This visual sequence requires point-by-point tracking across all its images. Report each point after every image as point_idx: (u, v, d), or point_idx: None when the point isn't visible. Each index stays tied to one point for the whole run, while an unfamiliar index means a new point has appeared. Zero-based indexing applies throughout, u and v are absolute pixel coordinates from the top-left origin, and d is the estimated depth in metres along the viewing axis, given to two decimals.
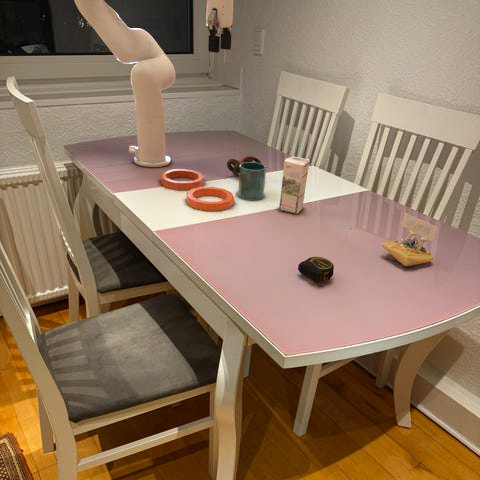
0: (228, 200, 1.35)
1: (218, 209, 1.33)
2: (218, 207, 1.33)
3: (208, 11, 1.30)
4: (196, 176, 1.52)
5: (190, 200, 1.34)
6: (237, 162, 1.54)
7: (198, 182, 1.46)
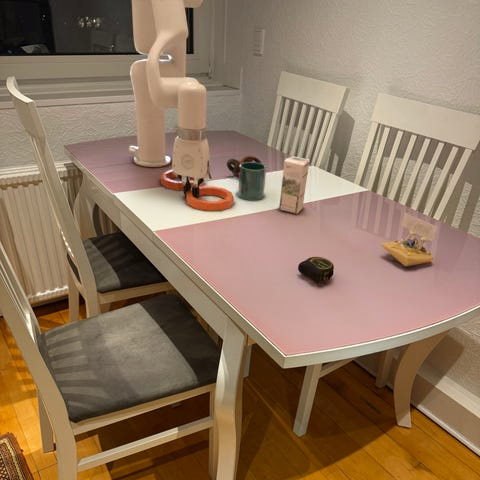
0: (227, 200, 1.35)
1: (218, 209, 1.34)
2: (217, 207, 1.33)
3: (205, 165, 1.31)
4: None
5: (190, 200, 1.34)
6: (237, 162, 1.54)
7: None
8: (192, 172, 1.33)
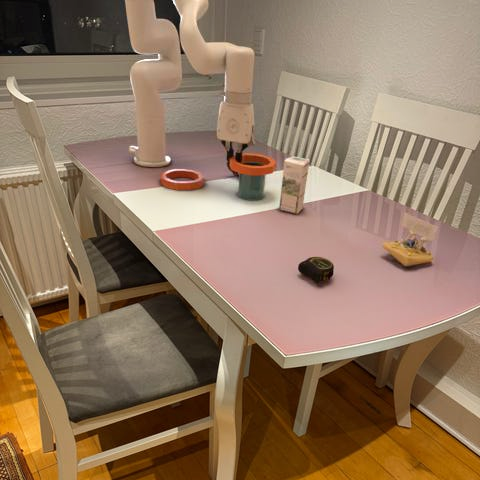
0: (271, 165, 1.36)
1: (262, 173, 1.35)
2: (262, 171, 1.35)
3: (250, 130, 1.33)
4: (196, 176, 1.52)
5: (234, 165, 1.36)
6: None
7: (198, 182, 1.46)
8: (237, 137, 1.34)
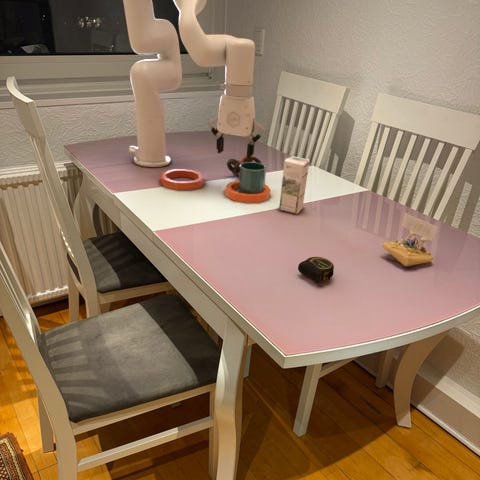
0: (265, 193, 1.42)
1: (257, 201, 1.40)
2: (256, 199, 1.40)
3: (251, 123, 1.32)
4: (196, 176, 1.52)
5: (230, 193, 1.41)
6: (237, 162, 1.54)
7: (198, 182, 1.46)
8: (237, 130, 1.33)
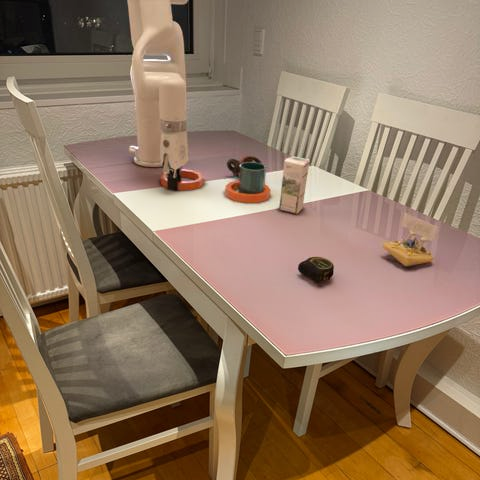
0: (265, 193, 1.42)
1: (257, 201, 1.40)
2: (256, 199, 1.40)
3: None
4: (196, 176, 1.52)
5: (230, 193, 1.41)
6: (237, 162, 1.54)
7: (198, 182, 1.46)
8: (184, 160, 1.41)
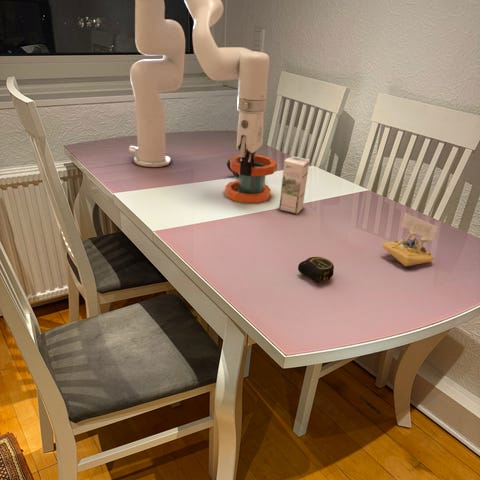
0: (265, 193, 1.42)
1: (257, 201, 1.40)
2: (256, 199, 1.40)
3: None
4: (267, 162, 1.42)
5: (230, 193, 1.41)
6: None
7: (272, 167, 1.36)
8: (260, 143, 1.31)
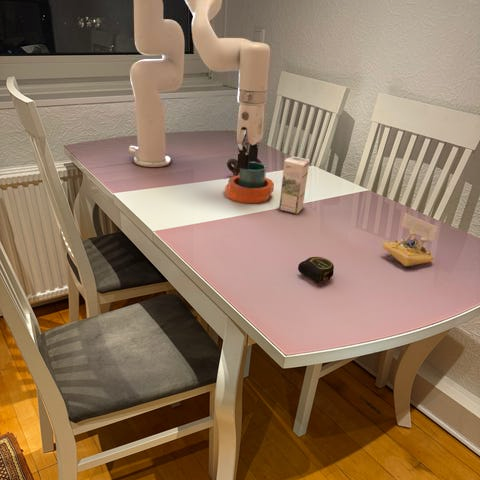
0: None
1: (257, 201, 1.40)
2: (256, 199, 1.40)
3: None
4: None
5: (230, 193, 1.41)
6: None
7: (269, 189, 1.39)
8: (260, 135, 1.30)
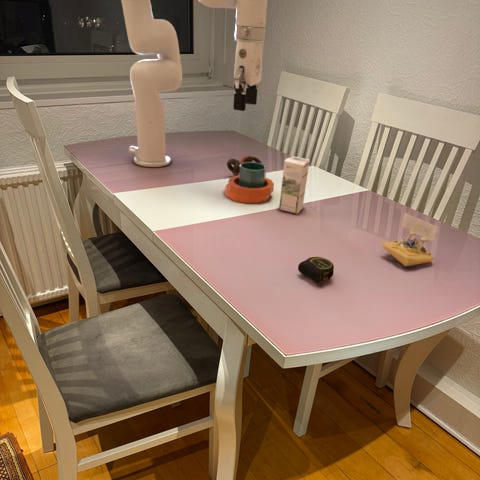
0: None
1: (257, 201, 1.40)
2: (256, 199, 1.40)
3: None
4: None
5: (230, 193, 1.41)
6: (237, 162, 1.54)
7: (269, 189, 1.39)
8: (258, 77, 1.26)
